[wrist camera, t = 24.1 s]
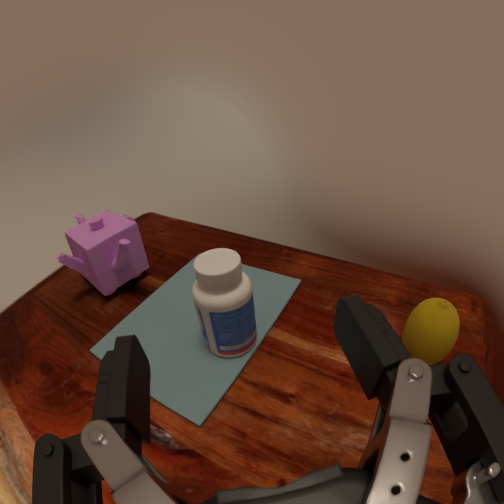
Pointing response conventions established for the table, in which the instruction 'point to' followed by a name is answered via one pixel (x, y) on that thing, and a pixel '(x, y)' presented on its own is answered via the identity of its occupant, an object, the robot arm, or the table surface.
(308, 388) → the table surface
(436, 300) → the lemon
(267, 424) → the table surface
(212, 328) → the pill bottle
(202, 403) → the cloth mat
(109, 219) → the teapot
